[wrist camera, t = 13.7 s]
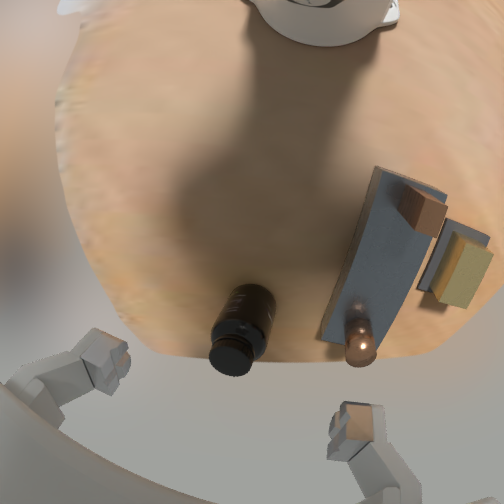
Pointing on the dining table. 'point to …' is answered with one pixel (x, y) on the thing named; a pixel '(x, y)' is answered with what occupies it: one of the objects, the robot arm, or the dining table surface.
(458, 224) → the mat
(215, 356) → the supplement bottle
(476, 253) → the lever cap
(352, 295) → the body
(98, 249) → the dining table surface
